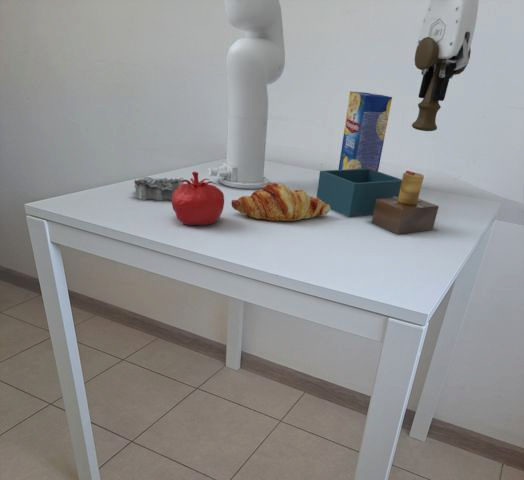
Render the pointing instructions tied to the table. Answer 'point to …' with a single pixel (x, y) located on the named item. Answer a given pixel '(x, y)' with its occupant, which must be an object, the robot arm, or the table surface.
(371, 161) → the beverage box
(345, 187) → the teal open box
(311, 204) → the croissant
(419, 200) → the block
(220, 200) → the red tomato
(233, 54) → the robot arm
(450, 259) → the table surface
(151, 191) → the grey flat jagged block
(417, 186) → the tap knob
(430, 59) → the kendama
